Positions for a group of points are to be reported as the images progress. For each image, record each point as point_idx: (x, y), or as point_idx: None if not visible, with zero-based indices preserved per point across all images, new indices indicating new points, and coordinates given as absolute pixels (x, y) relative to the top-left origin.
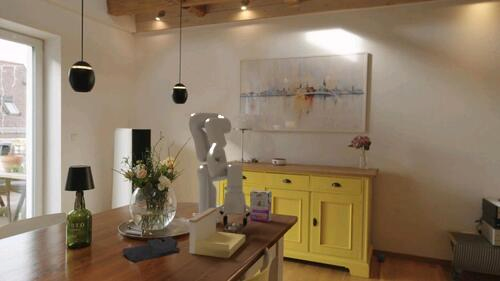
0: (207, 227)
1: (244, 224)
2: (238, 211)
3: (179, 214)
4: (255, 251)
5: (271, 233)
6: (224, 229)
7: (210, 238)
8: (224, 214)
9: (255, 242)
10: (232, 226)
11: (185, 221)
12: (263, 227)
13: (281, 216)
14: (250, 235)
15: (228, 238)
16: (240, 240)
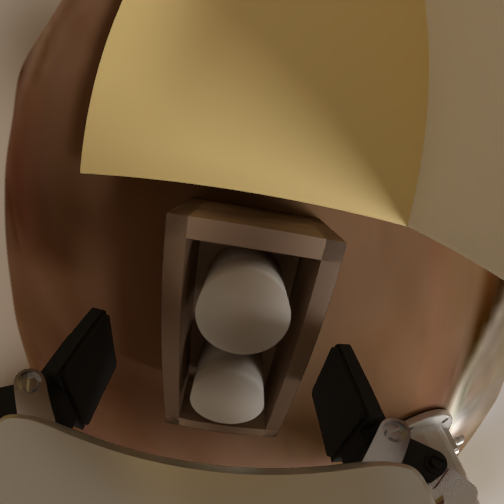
0: (485, 9)
1: (84, 325)
2: (49, 479)
3: (463, 447)
4: (54, 21)
5: (41, 353)
6: (329, 238)
7: (399, 17)
8: (385, 451)
9: (49, 168)
10: (244, 337)
11: (472, 413)
12: (116, 431)
13: None
14: (115, 317)
15: (228, 14)
16: (114, 33)
